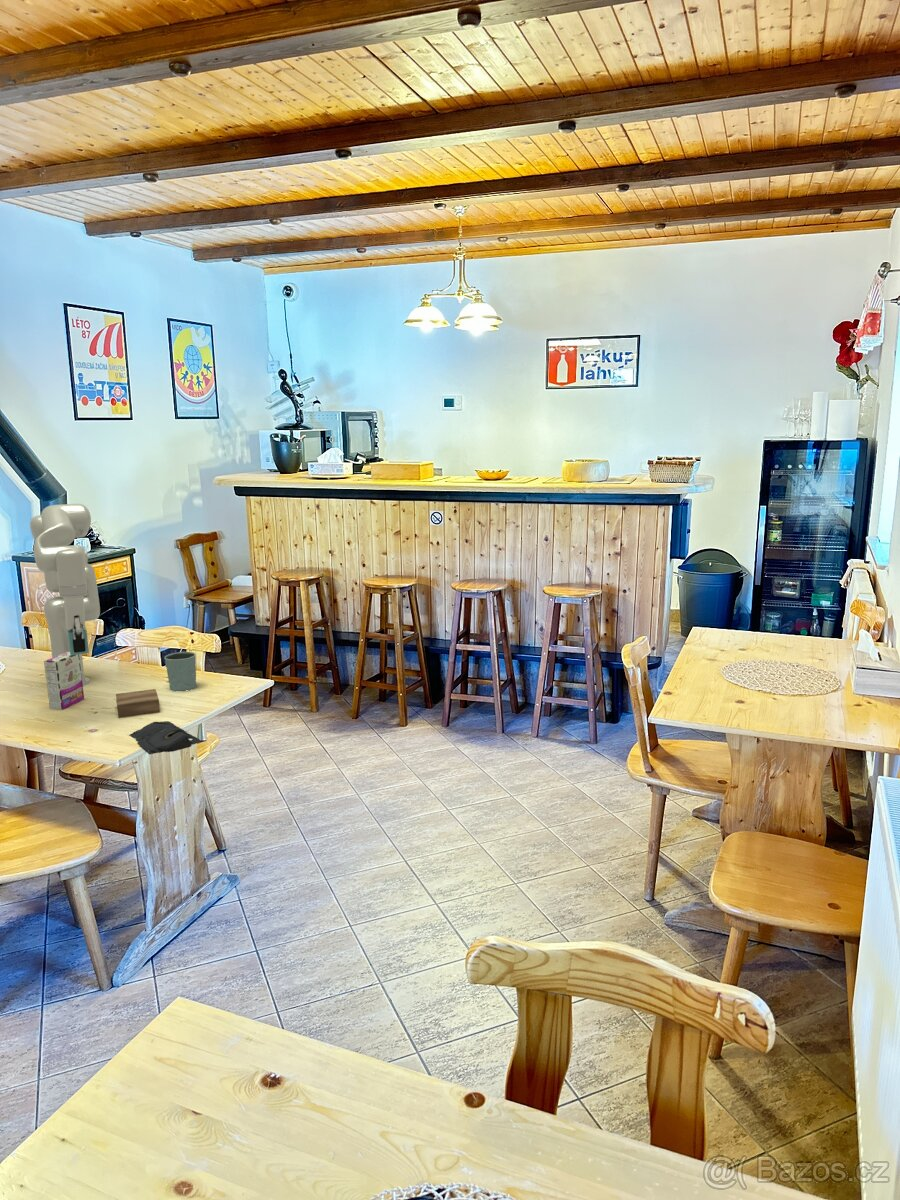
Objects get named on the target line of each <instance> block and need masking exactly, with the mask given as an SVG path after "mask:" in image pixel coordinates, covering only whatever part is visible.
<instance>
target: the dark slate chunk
mask: <svg viewBox="0 0 900 1200" xmlns="http://www.w3.org/2000/svg"><path fill="white" fill-rule="evenodd" d="M129 736H130V737H131V738H133V739H135V741H136V744H137V745H138V746H139V748H141V749H142V750H143V751H144V752H146V753H147V754H148V755H154V754H160V753H171V752H173V753H174V752H176V751H181V750H183V749H187V748H190V747H192V746H193V745H197V744H199V743H202V740H201V739H199V738H198V737H196V736H194V735H192V734H190V733H189V732H187V731H186V730H184V729H183V728H181V727H180V726H177V725H176V724H174V723H173V722H170V721H168V720H167V721H166V720H165V721H153V722H151V723H148V724H146V725H144V726H143V727H142V728H140V729H137V730H136V731H134V732H133V731H132V733H130V734H129Z"/></svg>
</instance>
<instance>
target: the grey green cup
mask: <svg viewBox="0 0 900 1200" xmlns="http://www.w3.org/2000/svg"><path fill="white" fill-rule="evenodd" d="M196 659H197V657H196V653H195V652H192V651H178V652H171V653H169V654H167V655H165V656H164V662H165V667H166V672H167V673H166V674H167V677H168V678H167V679H168V685H169V689H170V691H171V690H172V692H176V691H182V692H187V691H186V690H189V691H192V690H194V689H196V688H197V666H196V665H197V664H196V663H197V662H196V661H197V660H196ZM191 689H192V690H191Z"/></svg>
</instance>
